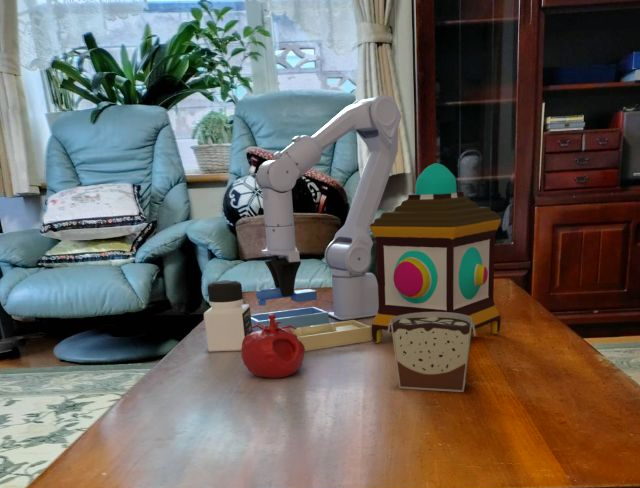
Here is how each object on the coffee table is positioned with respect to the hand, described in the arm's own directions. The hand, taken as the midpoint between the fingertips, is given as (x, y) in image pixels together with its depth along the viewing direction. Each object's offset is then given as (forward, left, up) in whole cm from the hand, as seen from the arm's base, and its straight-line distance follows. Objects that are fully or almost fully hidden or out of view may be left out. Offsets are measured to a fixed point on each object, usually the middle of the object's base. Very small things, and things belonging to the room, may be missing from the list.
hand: (285, 295), depth 138 cm
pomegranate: (+14, +32, -7) cm, 36 cm away
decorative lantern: (-19, +27, -7) cm, 34 cm away
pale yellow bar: (-1, +18, -6) cm, 19 cm away
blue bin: (0, 0, -6) cm, 6 cm away
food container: (-4, +51, -7) cm, 52 cm away
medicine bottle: (+15, +10, -7) cm, 19 cm away
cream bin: (-1, +18, -6) cm, 19 cm away
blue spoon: (0, 0, -1) cm, 1 cm away
